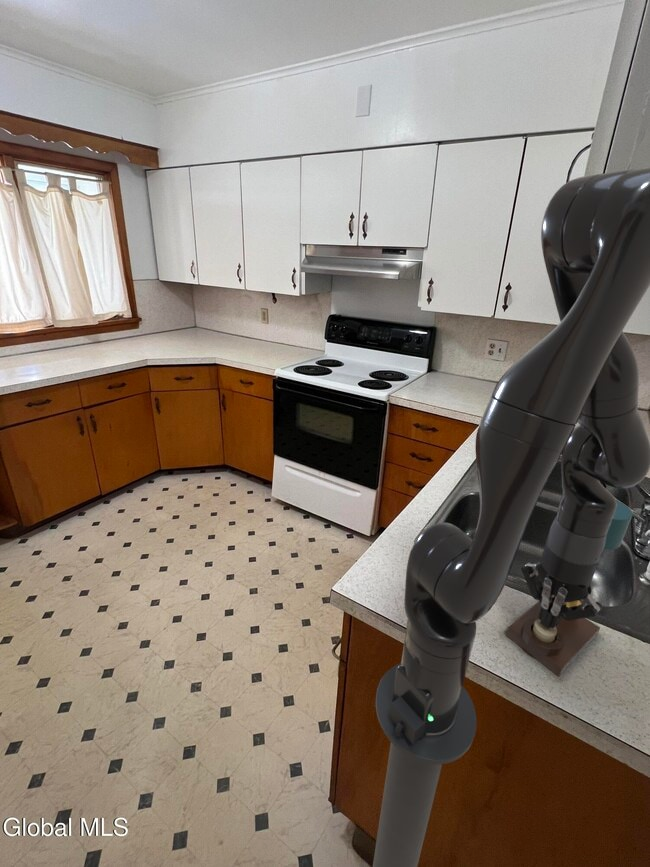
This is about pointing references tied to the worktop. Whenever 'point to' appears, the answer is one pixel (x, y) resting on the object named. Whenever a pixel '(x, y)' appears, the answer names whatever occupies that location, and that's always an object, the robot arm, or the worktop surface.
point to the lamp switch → (544, 632)
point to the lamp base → (566, 642)
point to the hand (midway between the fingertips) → (546, 624)
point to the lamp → (614, 532)
